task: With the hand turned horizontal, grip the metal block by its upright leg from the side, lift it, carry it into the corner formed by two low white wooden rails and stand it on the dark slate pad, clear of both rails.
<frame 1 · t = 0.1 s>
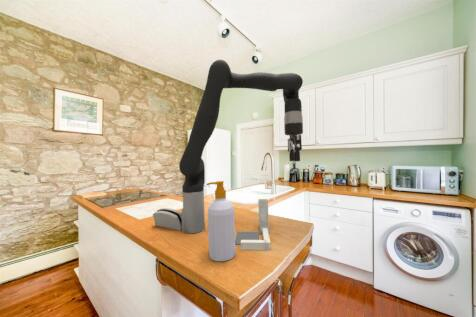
hand: (294, 161, 76), 29 cm above the table, tool pointing down, fingers open, 8 cm apart
grey rounded block: (169, 227, 83), on the table, touching arm
pad: (247, 238, 69), on the table
corner piece: (252, 241, 66), on the table
soap bottle: (221, 255, 57), on the table
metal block: (263, 226, 80), on the table
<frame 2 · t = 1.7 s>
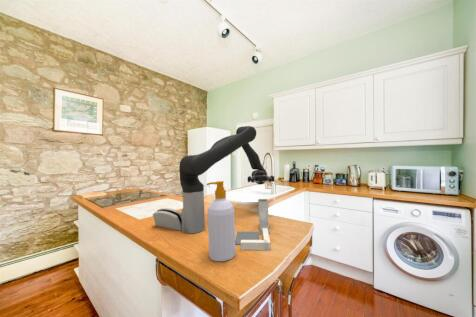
hand: (261, 180, 90), 20 cm above the table, tool horizontal, fingers open, 8 cm apart
nothing on the table moved.
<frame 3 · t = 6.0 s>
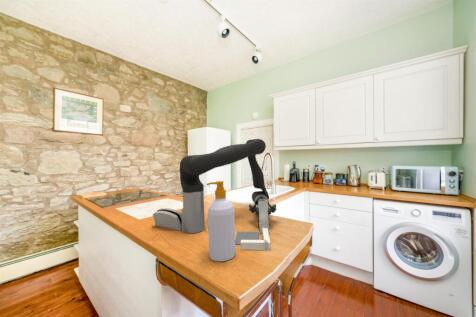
hand: (263, 213, 77), 7 cm above the table, tool horizontal, fingers closed on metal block, 4 cm apart
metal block: (263, 226, 80), on the table, touching gripper
everything else where it was.
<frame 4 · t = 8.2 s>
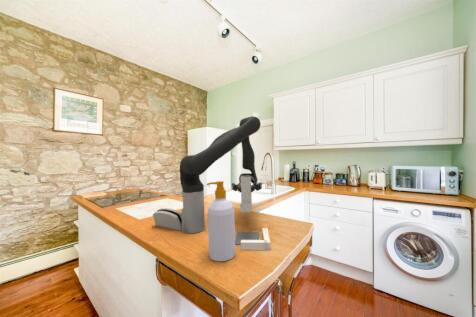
hand: (246, 189, 69), 19 cm above the table, tool horizontal, fingers closed on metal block, 4 cm apart
grey rounded block: (169, 227, 83), on the table, touching arm
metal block: (246, 205, 72), point 12 cm above the table, touching gripper
everything else where it was.
when the fingers open (8 cm above the table, at t = 10.5 s): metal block stays where it is, resting on pad.
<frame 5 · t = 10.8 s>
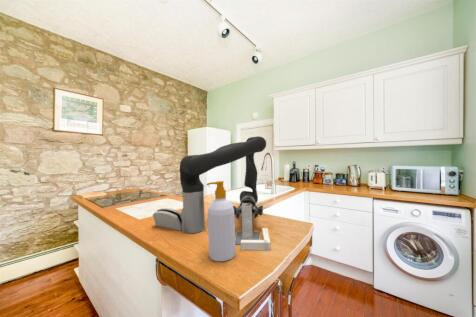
hand: (246, 215, 69), 8 cm above the table, tool horizontal, fingers open, 6 cm apart
grey rounded block: (169, 227, 83), on the table, touching arm
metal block: (247, 233, 72), resting on pad
everything else where it was.
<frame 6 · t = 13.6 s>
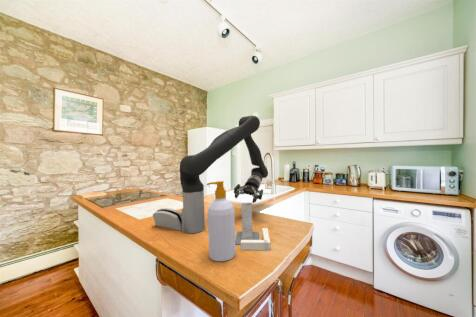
hand: (244, 198, 83), 12 cm above the table, tool tilted 75°, fingers open, 8 cm apart
grey rounded block: (169, 227, 83), on the table, touching arm
everything else where it was.
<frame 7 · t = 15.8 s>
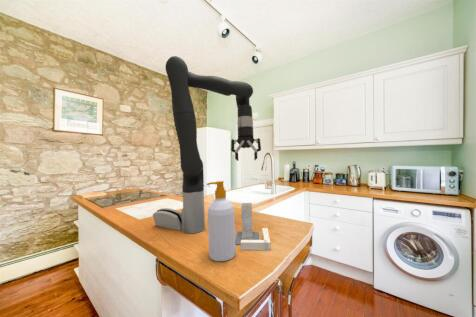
hand: (246, 160, 85), 30 cm above the table, tool pointing down, fingers open, 8 cm apart
nothing on the table moved.
at the end: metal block inside the target area (0.4 cm from its centre), resting on pad; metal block tilted 0°; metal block touching pad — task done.
